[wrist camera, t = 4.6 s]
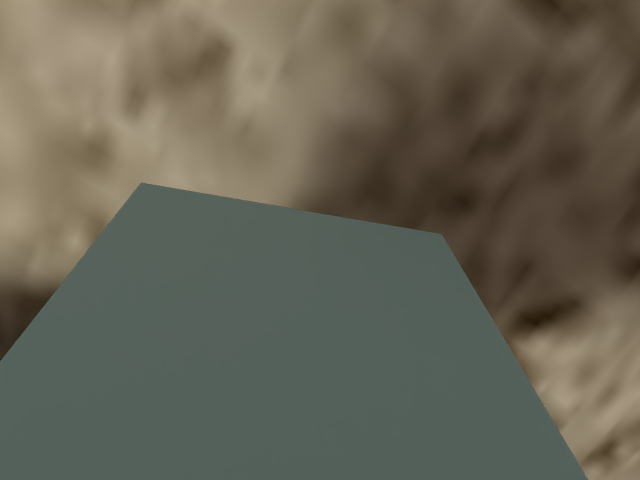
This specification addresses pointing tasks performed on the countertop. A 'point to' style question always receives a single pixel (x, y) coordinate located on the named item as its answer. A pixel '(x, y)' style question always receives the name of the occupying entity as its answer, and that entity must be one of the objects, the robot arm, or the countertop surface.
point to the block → (268, 357)
